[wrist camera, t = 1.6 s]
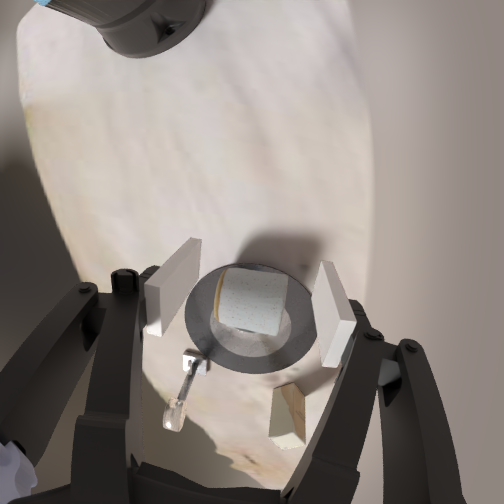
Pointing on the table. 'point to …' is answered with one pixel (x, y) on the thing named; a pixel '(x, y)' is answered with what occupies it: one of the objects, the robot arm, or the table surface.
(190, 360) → the dial stand
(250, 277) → the ceramic mug
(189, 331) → the platter
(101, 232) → the table surface
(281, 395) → the box
